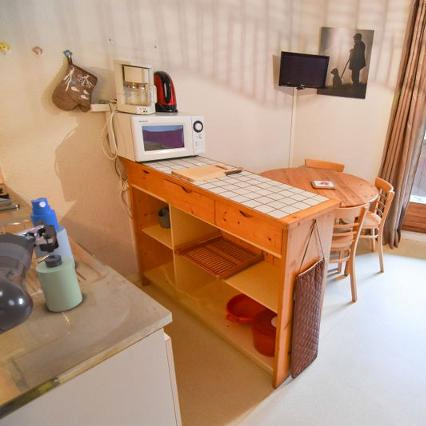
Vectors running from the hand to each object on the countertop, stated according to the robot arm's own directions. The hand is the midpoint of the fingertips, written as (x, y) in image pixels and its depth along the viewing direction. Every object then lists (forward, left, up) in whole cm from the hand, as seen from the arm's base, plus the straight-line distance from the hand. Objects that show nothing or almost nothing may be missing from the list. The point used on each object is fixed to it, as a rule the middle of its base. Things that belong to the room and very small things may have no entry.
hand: (15, 227), depth 70 cm
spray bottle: (-22, +25, -30) cm, 45 cm away
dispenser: (-6, +11, -30) cm, 32 cm away
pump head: (-7, +12, -13) cm, 19 cm away
